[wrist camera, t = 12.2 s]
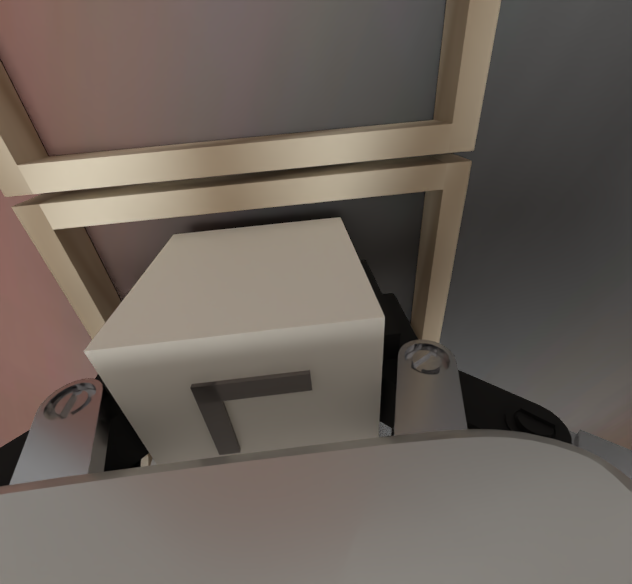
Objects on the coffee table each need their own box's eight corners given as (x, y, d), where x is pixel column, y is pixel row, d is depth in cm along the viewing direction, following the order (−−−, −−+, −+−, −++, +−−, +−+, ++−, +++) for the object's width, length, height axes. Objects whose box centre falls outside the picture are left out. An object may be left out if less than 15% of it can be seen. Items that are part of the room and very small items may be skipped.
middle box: (451, 153, 11) (472, 160, 10) (425, 334, 16) (436, 354, 14) (41, 193, 11) (11, 206, 9) (136, 368, 15) (124, 392, 14)
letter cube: (340, 217, 10) (385, 319, 6) (344, 341, 13) (377, 476, 9) (173, 234, 10) (80, 355, 6) (215, 356, 13) (177, 502, 9)
